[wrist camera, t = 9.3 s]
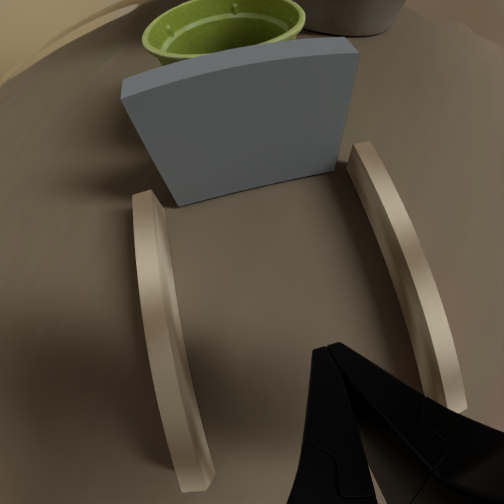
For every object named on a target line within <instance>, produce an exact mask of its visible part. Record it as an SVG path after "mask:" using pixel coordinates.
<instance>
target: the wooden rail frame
mask: <svg viewBox="0 0 504 504" xmlns="http://www.w3.org/2000/svg"><path fill="white" fill-rule="evenodd" d="M346 169H347V171H348V173H349V175H350V177H351V180H352V182H353V184H354V186H355V188H356V191H357V193H358V195H359V197H360V200H361V202H362V204H363V207H364V209H365V211H366V214H367V216H368V219H369V221H370V223H371V226H372V228H373V231H374V233H375V236H376V239H377V241H378V244H379V246H380V249H381V252H382V254H383V257H384V260H385V262H386V265H387V268H388V271H389V274H390V276H391V279H392V282H393V285H394V288H395V291H396V294H397V297H398V300H399V303H400V306H401V310H402V313H403V316H404V319H405V323H406V326H407V330H408V333H409V336H410V340H411V344H412V347H413V351H414V355H415V359H416V363H417V367H418V371H419V375H420V379H421V383H422V388H423V392H424V395H425V398H426V397H429V398H431V399H433V400H434V401H436V402H438V403H439V404H441V405H443V406H445V407H447V408H448V409H450V410H452V411H454V412H456V413H460V412H462V411H464V410H465V409H467V403H466V397H465V392H464V386H463V381H462V377H461V372H460V368H459V363H458V359H457V355H456V351H455V347H454V343H453V339H452V336H451V332H450V328H449V325H448V322H447V318H446V315H445V312H444V308H443V305H442V302H441V299H440V296H439V293H438V290H437V287H436V284H435V281H434V278H433V276H432V273H431V270H430V267H429V265H428V262H427V259H426V257H425V254H424V252H423V249H422V247H421V244H420V242H419V239H418V237H417V235H416V232H415V230H414V228H413V225H412V223H411V221H410V218H409V216H408V214H407V212H406V210H405V207H404V205H403V203H402V201H401V199H400V197H399V195H398V193H397V190H396V188H395V186H394V184H393V182H392V180H391V178H390V176H389V175H388V173H387V171H386V169H385V167H384V165H383V163H382V161H381V159H380V157H379V156H378V154H377V152H376V150H375V148H374V147H373V145H372V143H371V141H369V142H362V143H355V144H353V146H352V150H351V153H350V157H349V160H348V164H347V167H346ZM132 203H133V225H134V241H135V254H136V265H137V276H138V285H139V294H140V302H141V310H142V318H143V325H144V332H145V338H146V344H147V350H148V356H149V362H150V367H151V373H152V378H153V383H154V388H155V393H156V398H157V402H158V407H159V411H160V415H161V420H162V424H163V428H164V432H165V436H166V440H167V444H168V447H169V451H170V455H171V458H172V462H173V465H174V469H175V472H176V475H177V479H178V482H179V485H180V488H181V491H182V492H196V491H206V490H207V488H208V487H209V485H210V484H211V482H212V480H213V479H214V477H215V475H216V473H215V470H214V466H213V463H212V459H211V456H210V452H209V448H208V445H207V441H206V437H205V433H204V429H203V425H202V421H201V417H200V413H199V409H198V405H197V400H196V396H195V392H194V387H193V383H192V378H191V373H190V369H189V364H188V359H187V354H186V349H185V344H184V338H183V333H182V327H181V322H180V316H179V310H178V304H177V298H176V292H175V285H174V279H173V272H172V265H171V258H170V250H169V242H168V234H167V226H166V217H165V210H164V208H163V207H162V205H161V204H160V202H159V201H158V199H157V198H156V196H155V194H154V193H153V191H152V190H148V191H144V192H141V193H138V194H134V195H132Z"/></svg>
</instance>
